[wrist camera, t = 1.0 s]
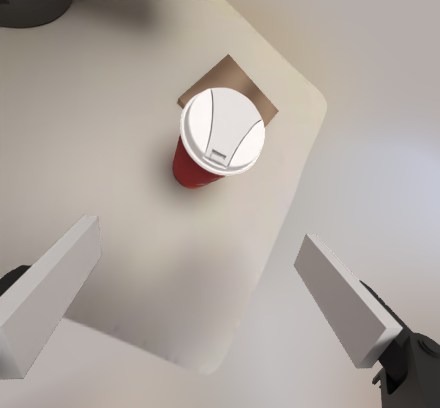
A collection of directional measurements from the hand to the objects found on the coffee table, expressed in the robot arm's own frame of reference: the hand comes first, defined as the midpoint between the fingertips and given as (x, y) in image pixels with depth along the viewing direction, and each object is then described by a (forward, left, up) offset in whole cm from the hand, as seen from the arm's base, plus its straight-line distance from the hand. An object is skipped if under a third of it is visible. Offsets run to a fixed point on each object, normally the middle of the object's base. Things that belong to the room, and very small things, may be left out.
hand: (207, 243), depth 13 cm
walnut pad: (-6, +21, -16) cm, 27 cm away
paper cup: (-4, +9, -16) cm, 19 cm away
